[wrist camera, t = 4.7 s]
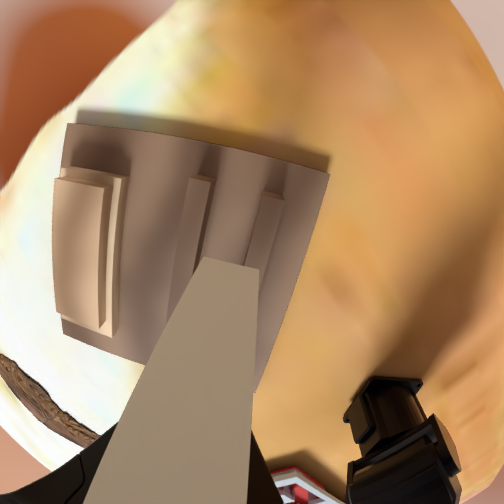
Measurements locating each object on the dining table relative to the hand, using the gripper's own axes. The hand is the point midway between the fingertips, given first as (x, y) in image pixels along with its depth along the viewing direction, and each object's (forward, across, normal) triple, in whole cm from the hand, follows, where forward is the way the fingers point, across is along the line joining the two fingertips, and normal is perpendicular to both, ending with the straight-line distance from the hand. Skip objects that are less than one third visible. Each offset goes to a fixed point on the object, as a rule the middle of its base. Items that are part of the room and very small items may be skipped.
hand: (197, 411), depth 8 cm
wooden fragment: (+13, +23, +28) cm, 39 cm away
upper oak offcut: (+10, +10, +1) cm, 15 cm away
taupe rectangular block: (+4, 0, 0) cm, 4 cm away
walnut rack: (+13, +5, +2) cm, 14 cm away
